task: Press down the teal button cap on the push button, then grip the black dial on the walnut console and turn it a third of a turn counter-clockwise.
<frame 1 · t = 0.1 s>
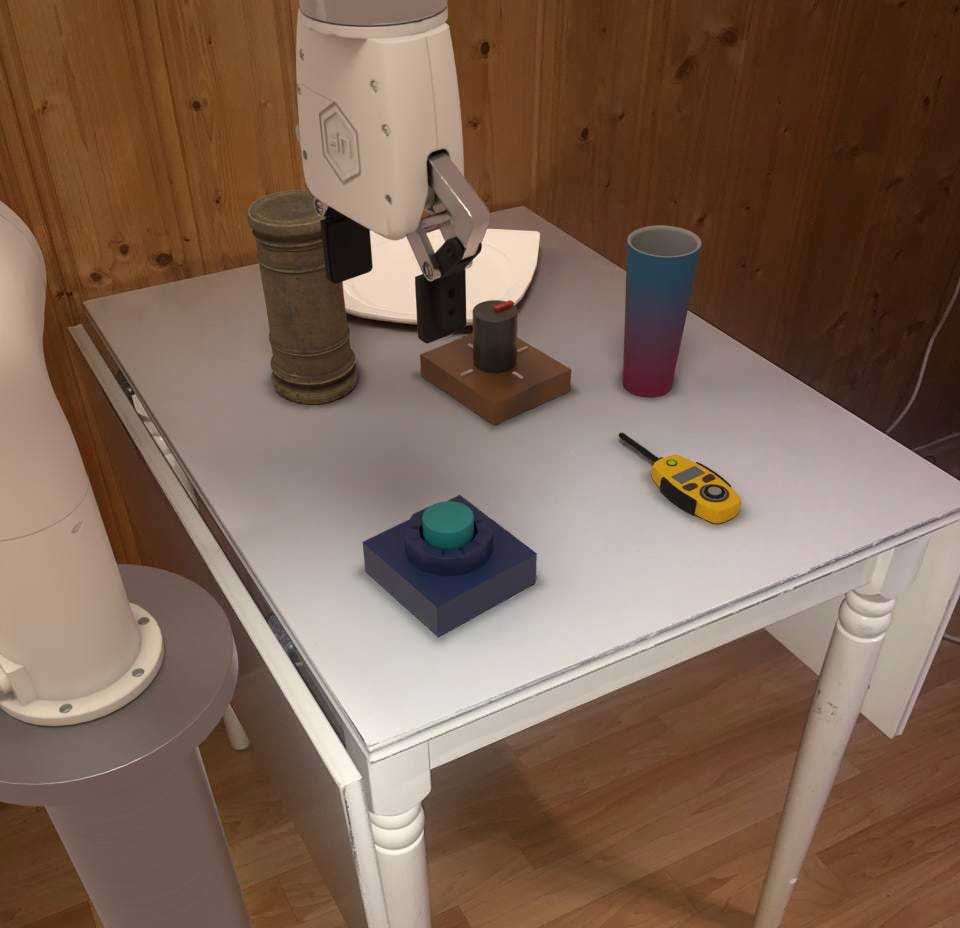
hand: (394, 304, 65), 26 cm above the table, tool pointing down, fingers open, 9 cm apart
container: (316, 383, 108), on the table
teal button cap: (448, 525, 83), point 5 cm above the table, slide at 0.1 cm
dial: (495, 334, 104), point 5 cm above the table, hinge at 0.0°
plate: (428, 285, 124), on the table
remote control: (671, 480, 96), on the table
console: (494, 383, 108), on the table
cup: (647, 385, 108), on the table
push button: (450, 577, 86), on the table
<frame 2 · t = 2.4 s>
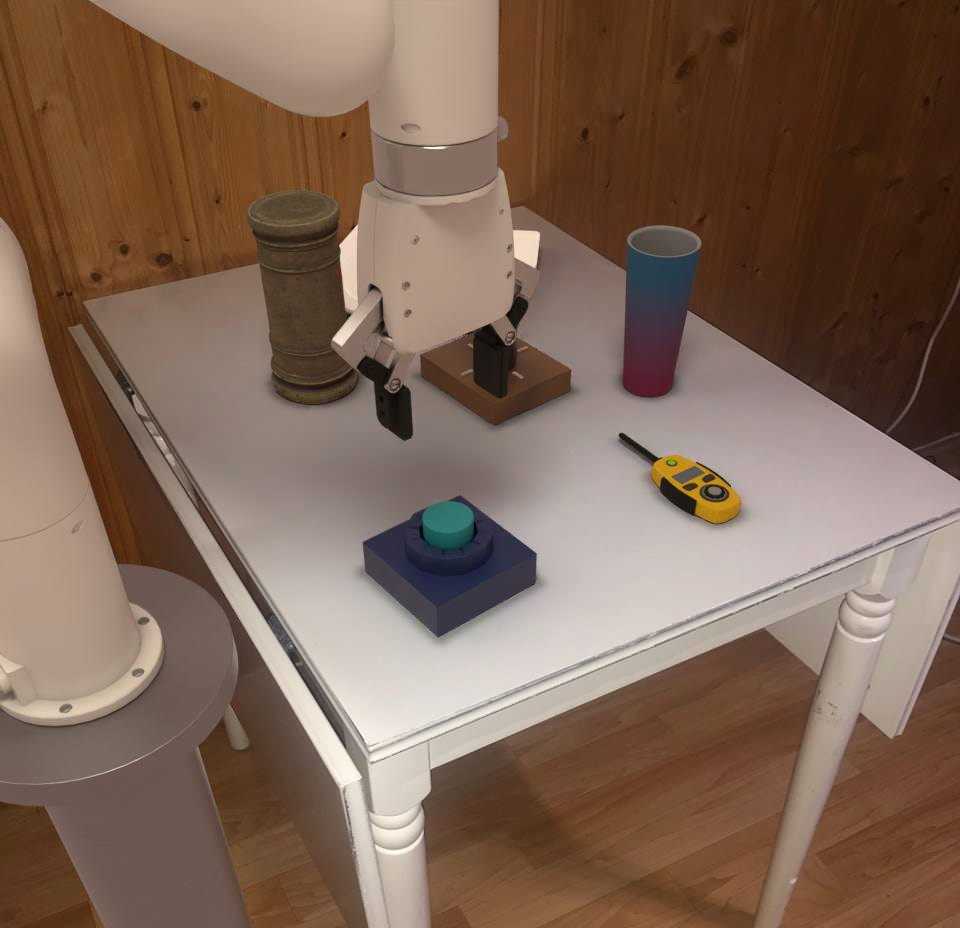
hand: (444, 409, 75), 16 cm above the table, tool pointing down, fingers open, 7 cm apart
nothing on the table moved.
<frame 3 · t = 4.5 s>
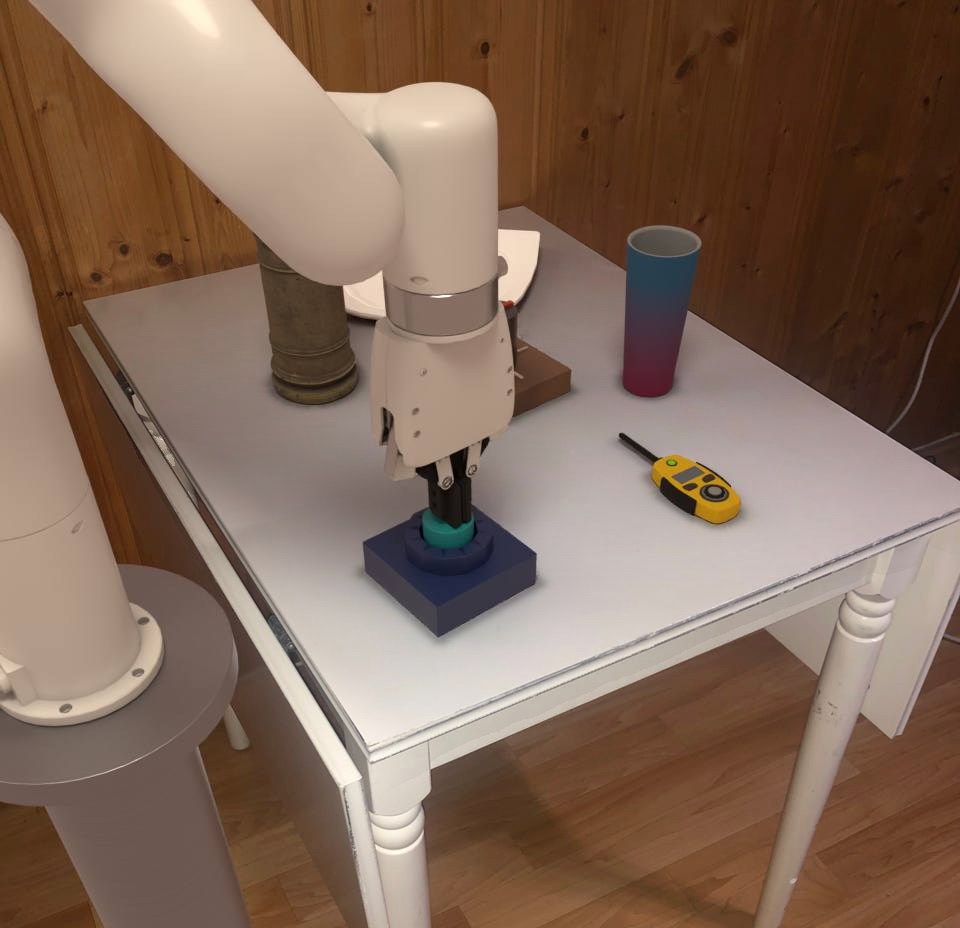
hand: (451, 516, 82), 6 cm above the table, tool pointing down, fingers closed
teal button cap: (448, 526, 83), point 5 cm above the table, slide at 0.0 cm, touching gripper
everything else where it was.
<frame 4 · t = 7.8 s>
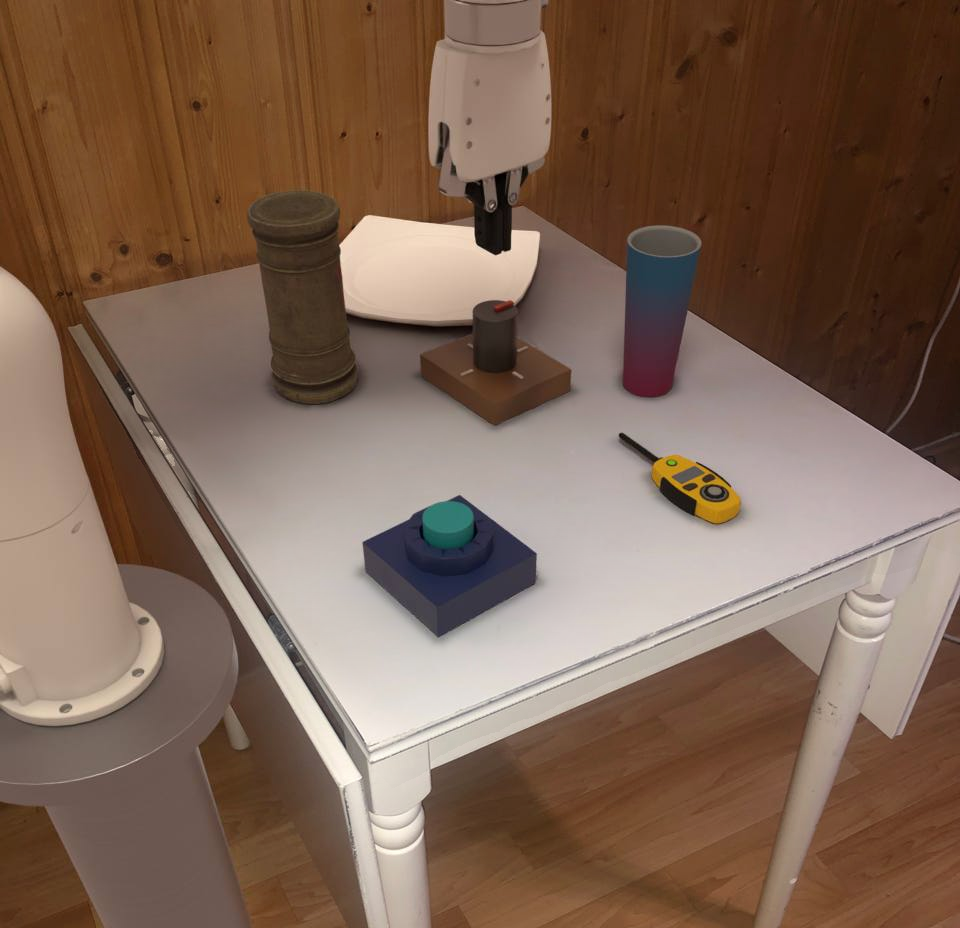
hand: (493, 247, 94), 16 cm above the table, tool pointing down, fingers closed
teal button cap: (448, 525, 83), point 5 cm above the table, slide at 0.1 cm
everything else where it was.
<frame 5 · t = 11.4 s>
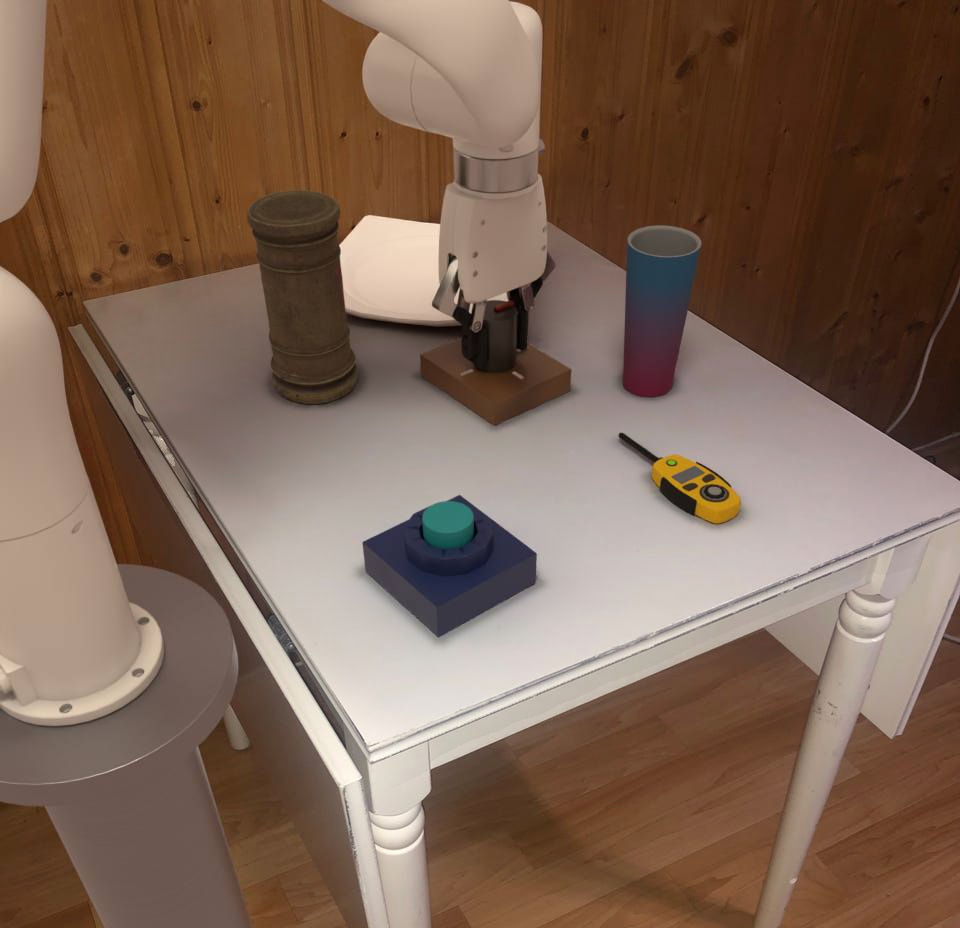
hand: (494, 351, 105), 4 cm above the table, tool pointing down, fingers closed on dial, 4 cm apart
dial: (495, 334, 104), point 5 cm above the table, hinge at -0.1°, touching gripper
everything else where it was.
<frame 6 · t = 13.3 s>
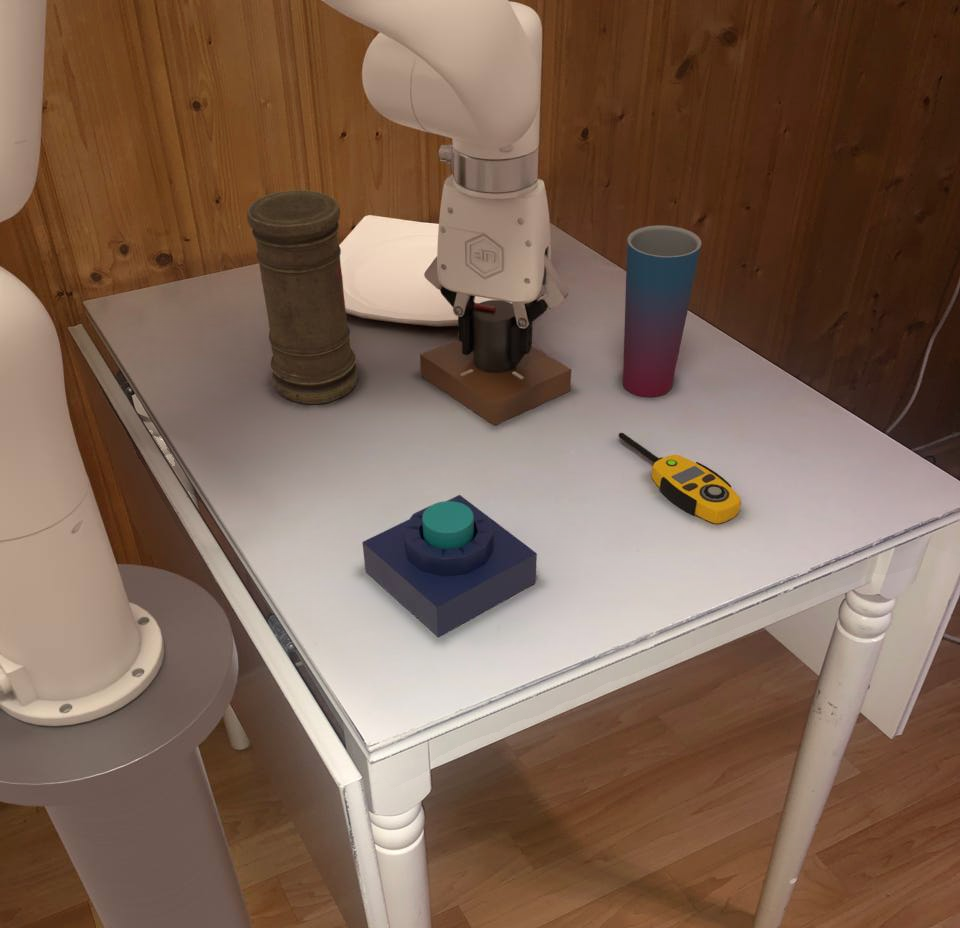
hand: (495, 351, 105), 4 cm above the table, tool pointing down, fingers closed on dial, 4 cm apart
dial: (495, 334, 104), point 5 cm above the table, hinge at 120.3°, touching gripper
everything else where it was.
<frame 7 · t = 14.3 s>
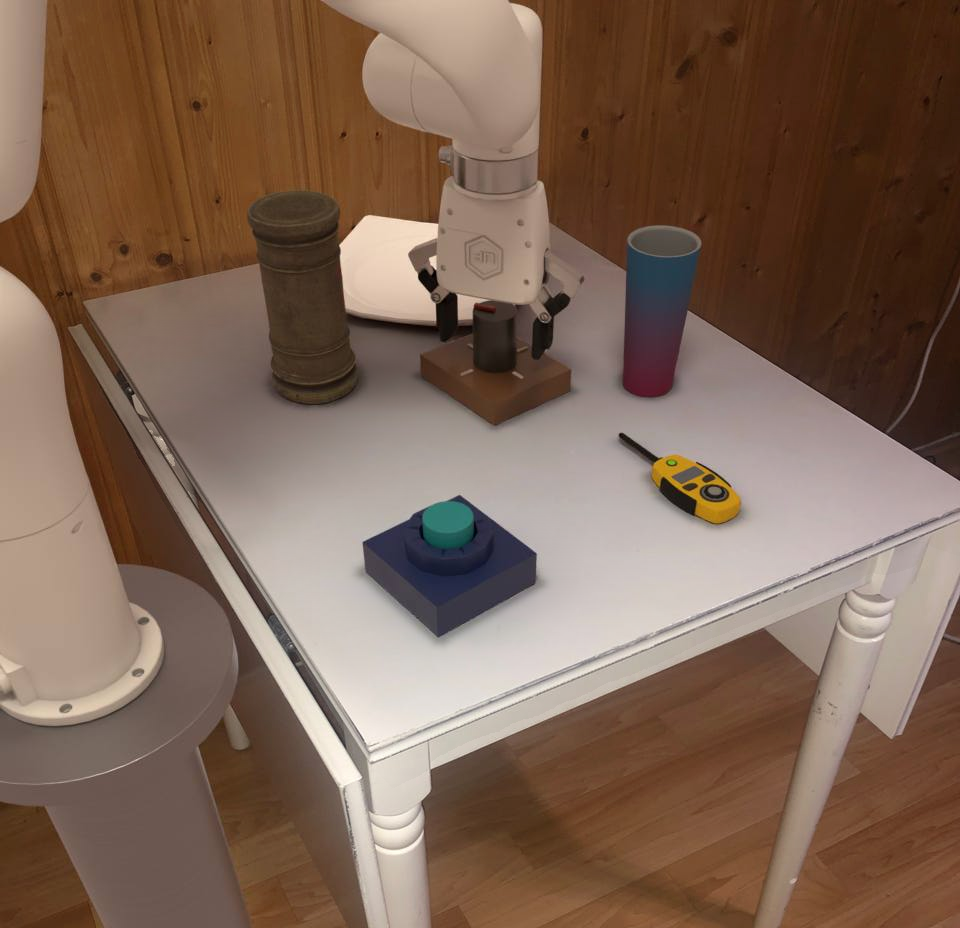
hand: (494, 344, 105), 4 cm above the table, tool pointing down, fingers open, 9 cm apart
dial: (495, 334, 104), point 5 cm above the table, hinge at 118.7°
everything else where it was.
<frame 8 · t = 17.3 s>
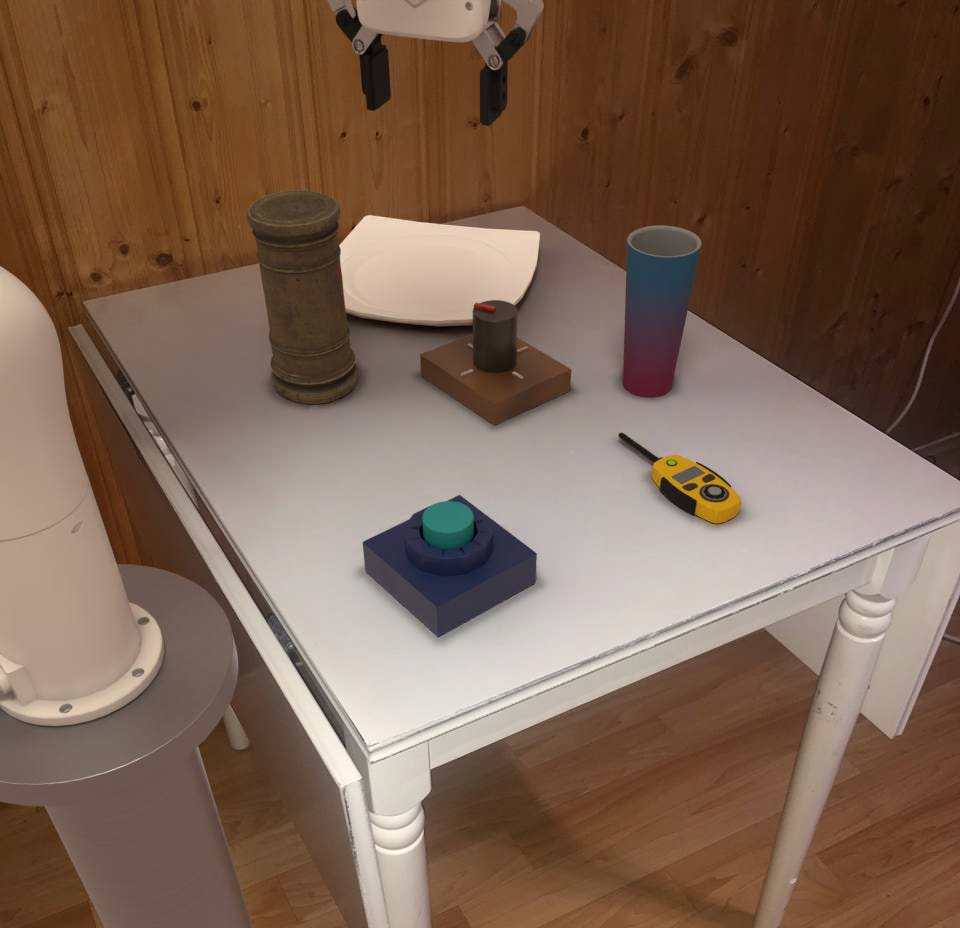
hand: (434, 112, 83), 28 cm above the table, tool pointing down, fingers open, 9 cm apart
nothing on the table moved.
at the end: teal button cap pushed in 1.1 cm at the most during the clip, back to where it started at the end; teal button cap slide at 0.1 cm; dial at +119° (first picture: +0°) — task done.
